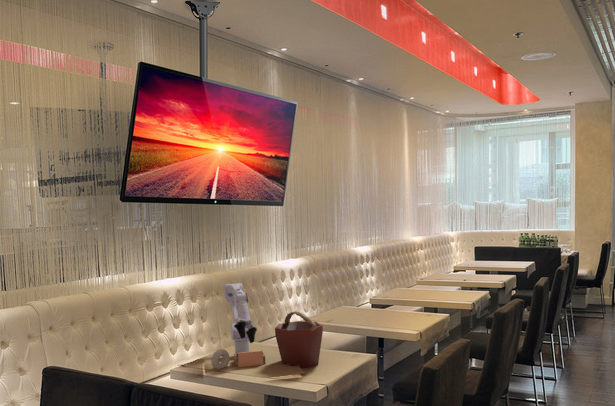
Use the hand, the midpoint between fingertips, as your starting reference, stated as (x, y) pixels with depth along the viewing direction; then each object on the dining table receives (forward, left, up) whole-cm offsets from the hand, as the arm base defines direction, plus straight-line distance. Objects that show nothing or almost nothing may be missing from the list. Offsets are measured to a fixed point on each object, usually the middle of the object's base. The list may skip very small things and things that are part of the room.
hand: (247, 340), depth 281 cm
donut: (+2, -13, -13) cm, 19 cm away
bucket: (+6, +24, -13) cm, 28 cm away
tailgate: (+5, +1, -11) cm, 12 cm away
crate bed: (-1, +1, -13) cm, 13 cm away
